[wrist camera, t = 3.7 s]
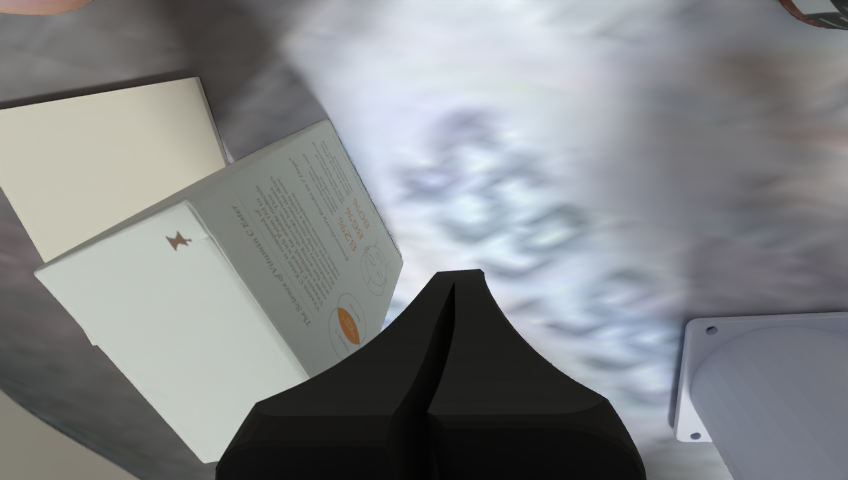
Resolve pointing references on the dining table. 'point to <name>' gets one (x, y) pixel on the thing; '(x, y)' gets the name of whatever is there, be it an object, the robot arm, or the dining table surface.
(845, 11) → the supplement bottle
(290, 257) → the small box
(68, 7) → the decorative fruit
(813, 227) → the dining table surface
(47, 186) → the mat
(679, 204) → the dining table surface
